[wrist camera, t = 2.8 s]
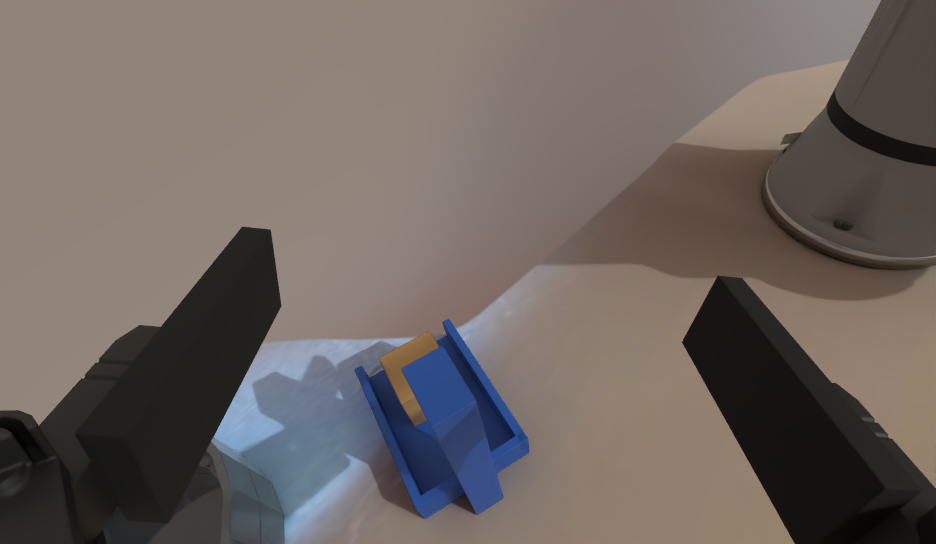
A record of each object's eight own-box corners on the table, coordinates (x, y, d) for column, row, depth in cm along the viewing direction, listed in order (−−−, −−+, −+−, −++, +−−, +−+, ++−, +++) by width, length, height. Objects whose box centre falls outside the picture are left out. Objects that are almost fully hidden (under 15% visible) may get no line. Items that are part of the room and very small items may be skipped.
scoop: (542, 472, 30) (540, 363, 18) (435, 543, 28) (358, 471, 17) (453, 335, 37) (413, 198, 26) (364, 384, 36) (278, 260, 24)
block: (463, 398, 33) (455, 373, 30) (414, 427, 32) (401, 404, 29) (439, 357, 36) (429, 330, 33) (393, 383, 35) (378, 357, 32)
